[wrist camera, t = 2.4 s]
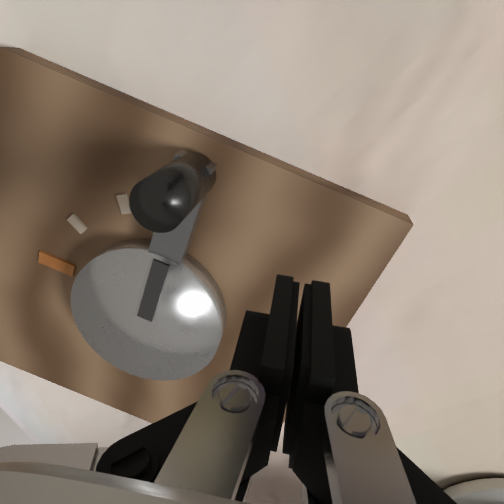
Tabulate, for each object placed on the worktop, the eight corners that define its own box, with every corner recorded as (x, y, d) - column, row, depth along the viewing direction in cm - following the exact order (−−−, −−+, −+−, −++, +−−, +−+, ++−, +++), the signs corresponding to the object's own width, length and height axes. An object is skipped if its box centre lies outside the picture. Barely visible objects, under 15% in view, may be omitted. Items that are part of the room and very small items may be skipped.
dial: (201, 382, 28) (174, 452, 23) (76, 330, 28) (21, 389, 23) (288, 188, 20) (277, 229, 15) (116, 115, 20) (47, 131, 15)
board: (407, 214, 22) (414, 226, 20) (257, 449, 33) (254, 467, 31) (19, 48, 21) (-4, 46, 20) (2, 344, 32) (-14, 357, 31)
